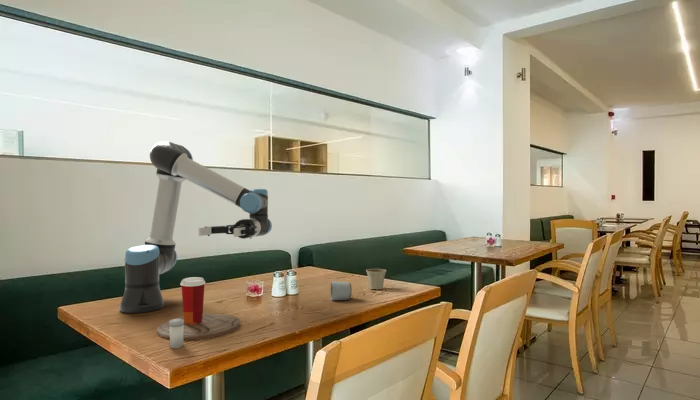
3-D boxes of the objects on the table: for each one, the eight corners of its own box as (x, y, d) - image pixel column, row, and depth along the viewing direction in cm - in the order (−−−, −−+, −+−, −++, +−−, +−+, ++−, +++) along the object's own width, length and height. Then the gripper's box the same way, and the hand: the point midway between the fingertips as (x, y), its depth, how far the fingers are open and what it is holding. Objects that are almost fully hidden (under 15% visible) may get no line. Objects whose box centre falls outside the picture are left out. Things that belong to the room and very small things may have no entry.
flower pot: (376, 286, 204) (376, 267, 204) (390, 289, 197) (390, 270, 197) (361, 288, 198) (361, 270, 198) (375, 292, 191) (375, 272, 191)
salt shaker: (166, 347, 119) (166, 321, 119) (175, 343, 123) (175, 318, 123) (178, 349, 118) (178, 322, 118) (186, 344, 122) (186, 319, 122)
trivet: (208, 315, 155) (208, 310, 155) (255, 327, 141) (255, 321, 141) (141, 333, 135) (141, 327, 135) (188, 348, 120) (188, 342, 120)
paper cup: (205, 316, 145) (205, 276, 144) (205, 324, 137) (205, 281, 137) (180, 319, 142) (180, 277, 141) (179, 326, 135) (179, 283, 134)
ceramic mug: (352, 301, 173) (352, 282, 173) (332, 302, 172) (332, 283, 172) (347, 296, 183) (347, 278, 184) (328, 296, 182) (328, 278, 182)
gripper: (276, 238, 164) (249, 244, 144) (219, 237, 171) (185, 242, 150) (276, 219, 164) (249, 221, 144) (219, 218, 171) (185, 220, 150)
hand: (216, 232), depth 147 cm, fingers open, 13 cm apart
